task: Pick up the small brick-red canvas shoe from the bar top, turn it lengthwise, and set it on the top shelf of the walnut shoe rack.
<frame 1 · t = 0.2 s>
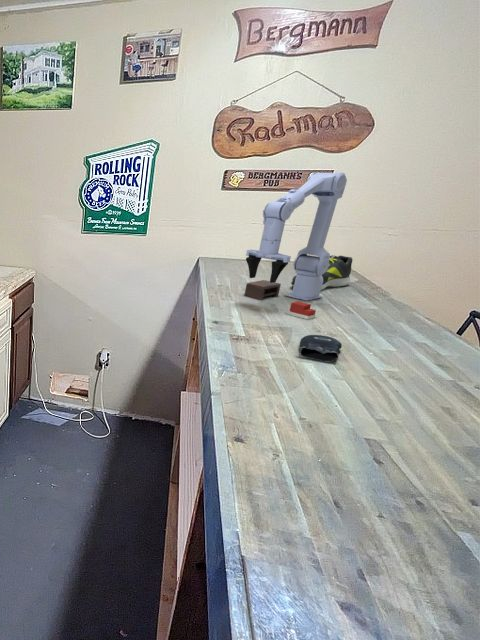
hand: (262, 279, 157), 10 cm above the bar counter, tool pointing down, fingers open, 7 cm apart
shoe rack: (260, 296, 175), on the bar counter
shoe: (300, 315, 152), on the bar counter
electronic device: (318, 352, 123), on the bar counter
running shoe: (317, 286, 188), on the bar counter
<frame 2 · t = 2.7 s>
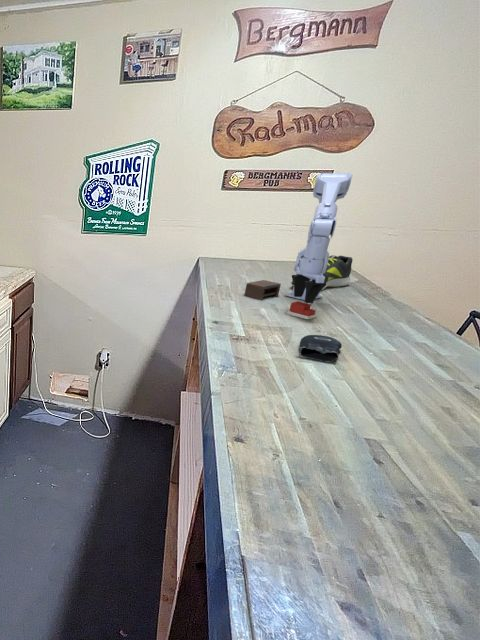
hand: (303, 299, 150), 5 cm above the bar counter, tool pointing down, fingers open, 7 cm apart
nothing on the bar counter moved.
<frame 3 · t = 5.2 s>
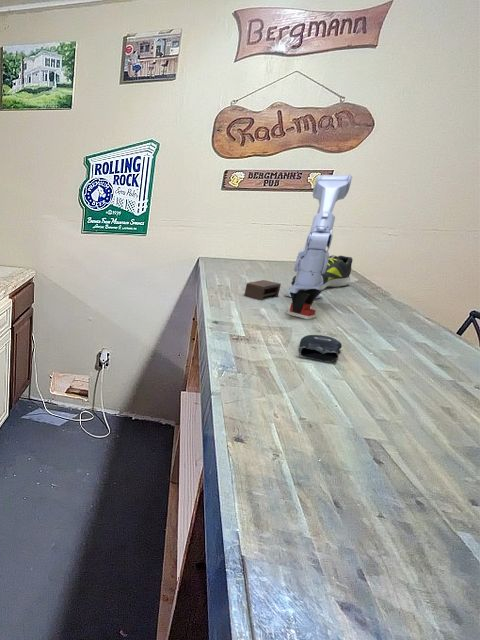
hand: (300, 311, 152), 1 cm above the bar counter, tool pointing down, fingers closed on shoe, 3 cm apart
shoe: (300, 315, 152), on the bar counter, touching gripper
everything else where it was.
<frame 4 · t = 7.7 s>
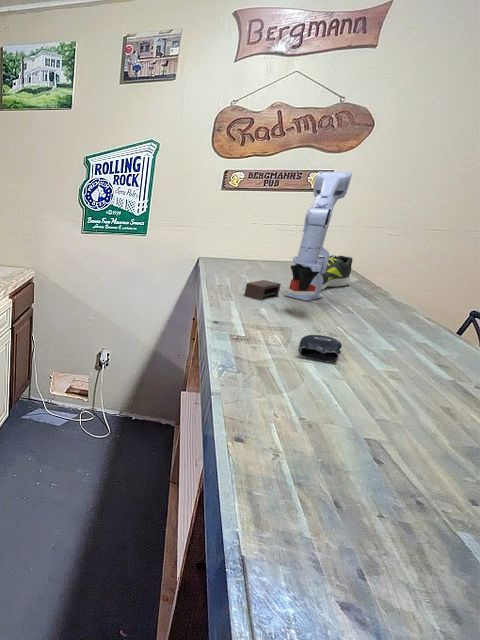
hand: (299, 288, 152), 8 cm above the bar counter, tool pointing down, fingers closed on shoe, 3 cm apart
shoe: (300, 292, 153), point 7 cm above the bar counter, touching gripper
everything else where it was.
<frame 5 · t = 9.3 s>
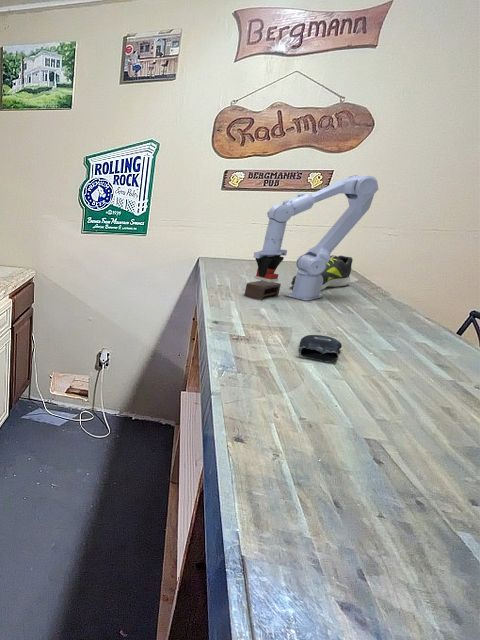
hand: (265, 275, 172), 8 cm above the bar counter, tool pointing down, fingers closed on shoe, 3 cm apart
shoe: (265, 279, 172), point 6 cm above the bar counter, touching gripper
everything else where it was.
when the fingers open (6 cm above the bar counter, at t = 10.2 s): shoe stays where it is, resting on shoe rack.
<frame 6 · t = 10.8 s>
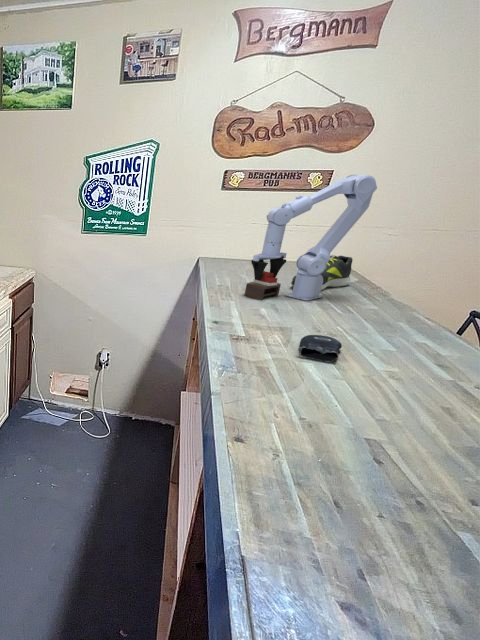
hand: (264, 278, 172), 7 cm above the bar counter, tool pointing down, fingers open, 7 cm apart
shoe: (264, 283, 172), point 5 cm above the bar counter, touching shoe rack
everything else where it was.
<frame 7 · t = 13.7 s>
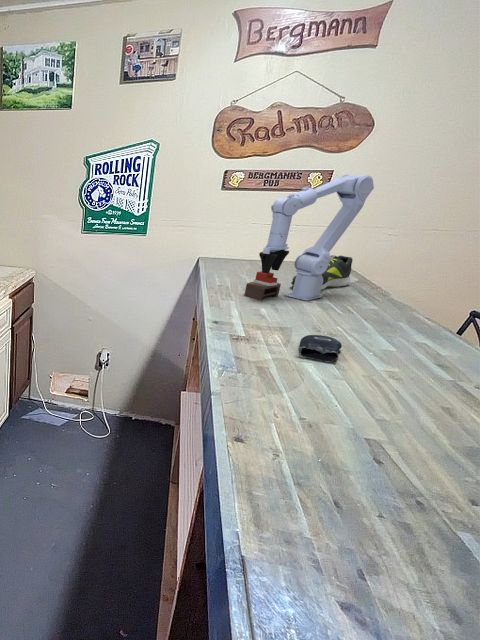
hand: (270, 271, 167), 10 cm above the bar counter, tool pointing down, fingers open, 7 cm apart
nothing on the bar counter moved.
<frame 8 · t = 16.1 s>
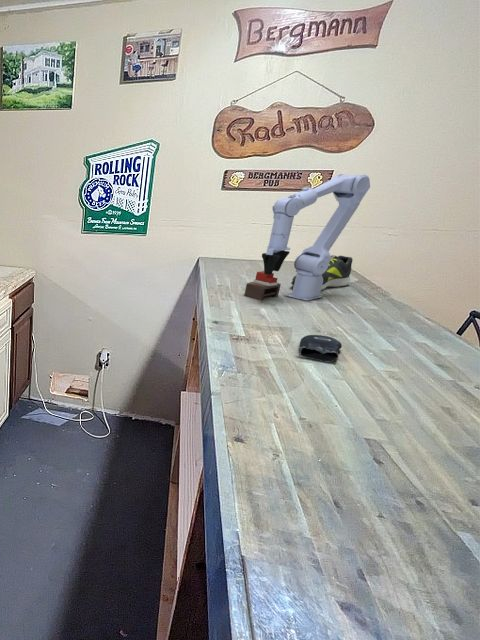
hand: (271, 272, 165), 10 cm above the bar counter, tool pointing down, fingers open, 7 cm apart
nothing on the bar counter moved.
at the end: shoe inside the target area on the shoe rack (0.4 cm from its centre), point 5.0 cm above the shoe rack's base; shoe tilted 0°; the gripper is holding nothing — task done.
